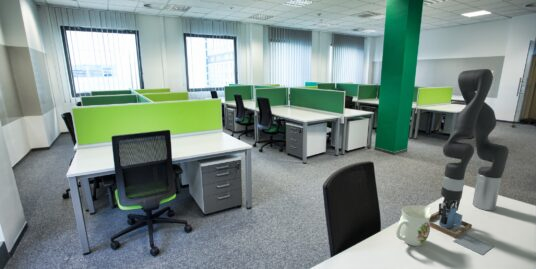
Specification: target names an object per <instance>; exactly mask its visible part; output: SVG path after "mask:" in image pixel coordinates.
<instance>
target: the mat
mask: <svg viewBox="0 0 536 269" xmlns="http://www.w3.org/2000/svg"><path fill="white" fill-rule="evenodd" d="M453 242H454V243H456V244H457V245H459V246H462V247H464V248H467V249H469V250H471V251H472V252H474V253H477V254H479V255H481V256H484V254H486V253H488V251H490V250H491V249H493V247H495V246H494V245H492V244H490V243H489V242H485V241H483V240H481V239H479V238H477V237H474V236H472V235H469V234H467V233H463V234H462V235H460V236H459V237H457V238H455V239H454V240H453Z"/></svg>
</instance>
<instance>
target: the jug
mask: <svg viewBox="0 0 536 269" xmlns="http://www.w3.org/2000/svg"><path fill="white" fill-rule="evenodd" d="M446 210H449V209H447V208H446ZM456 210H457V208H454V207H453V208H452V210H451V212H450V213H449V214H448V218H447V224H445V225H444V224H442V223H441V215H440V216H439V222H438V225H439V226H441V227H443V228H446V229H448V230H453V229H454V227H455V226H458V227H462V225H461V222H462V221H463V214H460V213H458V212H457V211H458V210H457V211H456ZM446 213H447V212H446Z"/></svg>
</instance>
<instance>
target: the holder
mask: <svg viewBox="0 0 536 269" xmlns="http://www.w3.org/2000/svg"><path fill="white" fill-rule="evenodd" d="M438 217H440V215H439V210H438V211H436V212H434V213H431V217H430V219H429V223H430V228H432V229H435V230H437V231H438V232H441V233H443V234H445V235H447V236H449V237H452V238H454V239H457V238H459V237H460V236H462V235H463V234H466V232H468V231H469V230H471V229H472V227H473V224H471V223H468V222H466V221H464V220H462V222H461V227H462V228H460V229H458V230H457V231H455V232H454V231H452V230H451V229H447V228H443V227H441V226H440V225H439V224H437V223H434V222H432V220H434V219H436V218H438Z"/></svg>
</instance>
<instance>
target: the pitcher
mask: <svg viewBox="0 0 536 269" xmlns="http://www.w3.org/2000/svg"><path fill="white" fill-rule="evenodd" d="M431 215H432V213H431V206H429V205H406V206H405V205H404V206H402V208H401V216H400V218H399V221H398V222H399V223H398V224H397V226H396V231H395V233H396V234H395V236H396V237H397V239H398V240H400V241H404V243H405V244H407V245H410V246H413V247H420V246H422V245H423V244H424V243H425V242H426V241H427V239H428V237H429V236H430V232H431V227H430V223H429V219H430V217H431Z"/></svg>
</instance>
